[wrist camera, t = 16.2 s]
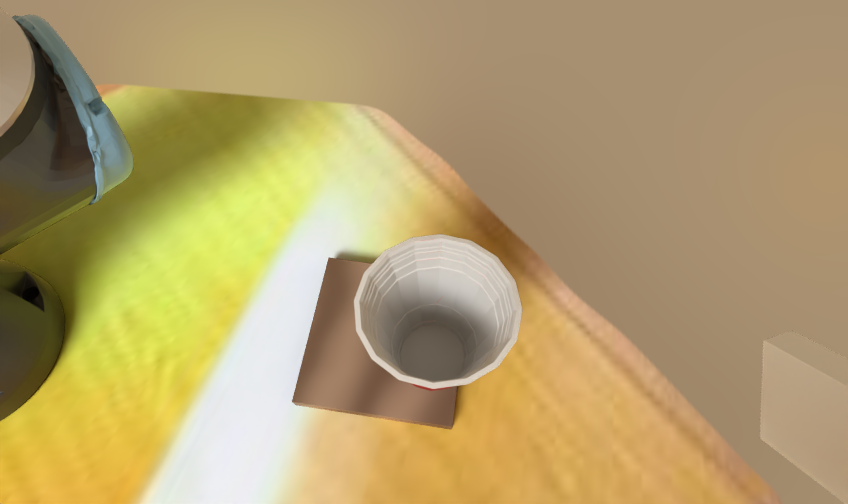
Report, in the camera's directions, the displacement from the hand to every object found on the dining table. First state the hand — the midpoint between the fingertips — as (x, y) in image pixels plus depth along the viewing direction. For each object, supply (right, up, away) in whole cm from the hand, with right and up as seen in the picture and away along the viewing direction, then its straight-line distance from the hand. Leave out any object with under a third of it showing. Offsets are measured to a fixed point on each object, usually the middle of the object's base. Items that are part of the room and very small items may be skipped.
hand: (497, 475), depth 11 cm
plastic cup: (-1, -4, +33) cm, 33 cm away
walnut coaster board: (-5, -3, +35) cm, 35 cm away
